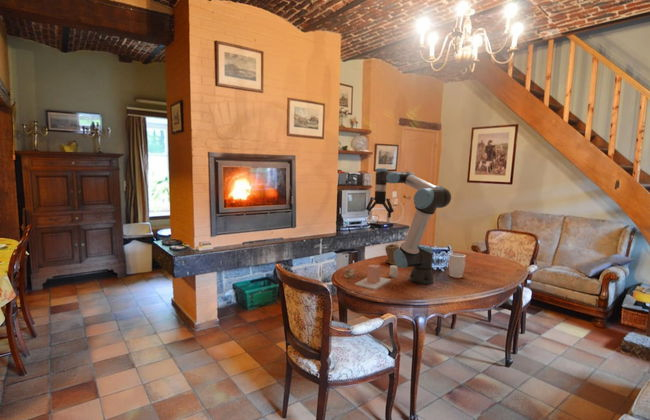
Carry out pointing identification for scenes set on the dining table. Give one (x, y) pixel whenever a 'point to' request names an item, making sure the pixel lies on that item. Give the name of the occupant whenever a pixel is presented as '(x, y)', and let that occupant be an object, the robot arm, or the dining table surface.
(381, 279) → the grey mat
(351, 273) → the olive rounded lump
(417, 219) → the robot arm
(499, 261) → the dining table surface
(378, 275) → the coral block
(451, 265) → the jar
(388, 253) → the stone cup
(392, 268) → the off-white cylinder
